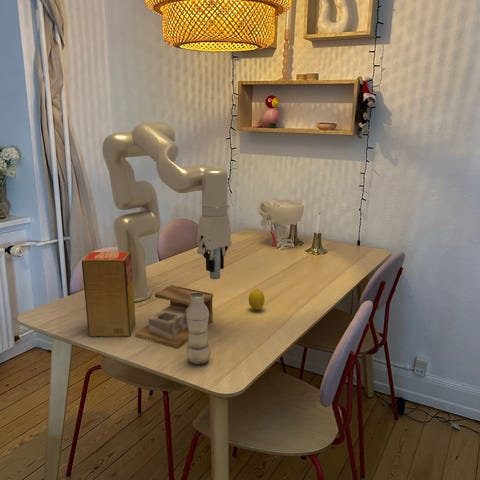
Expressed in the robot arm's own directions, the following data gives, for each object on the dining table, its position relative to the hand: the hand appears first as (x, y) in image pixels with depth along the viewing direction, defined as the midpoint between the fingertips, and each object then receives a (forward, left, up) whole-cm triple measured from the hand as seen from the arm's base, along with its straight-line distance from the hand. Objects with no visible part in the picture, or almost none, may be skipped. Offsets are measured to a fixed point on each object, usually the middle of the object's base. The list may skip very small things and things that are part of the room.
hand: (214, 269), depth 140 cm
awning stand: (-12, -5, -21) cm, 25 cm away
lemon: (+5, +20, -21) cm, 29 cm away
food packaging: (-29, -15, -21) cm, 39 cm away
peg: (0, 0, -3) cm, 3 cm away
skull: (-18, +95, -21) cm, 99 cm away
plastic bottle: (+5, -18, -21) cm, 28 cm away
